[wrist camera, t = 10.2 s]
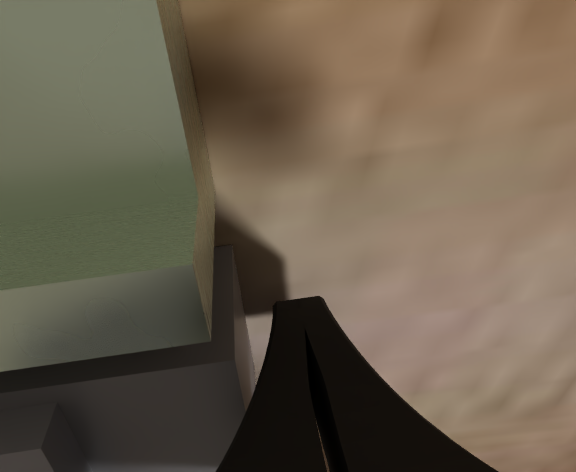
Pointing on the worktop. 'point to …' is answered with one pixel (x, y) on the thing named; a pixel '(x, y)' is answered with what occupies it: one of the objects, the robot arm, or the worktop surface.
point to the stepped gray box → (136, 401)
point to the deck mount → (100, 183)
